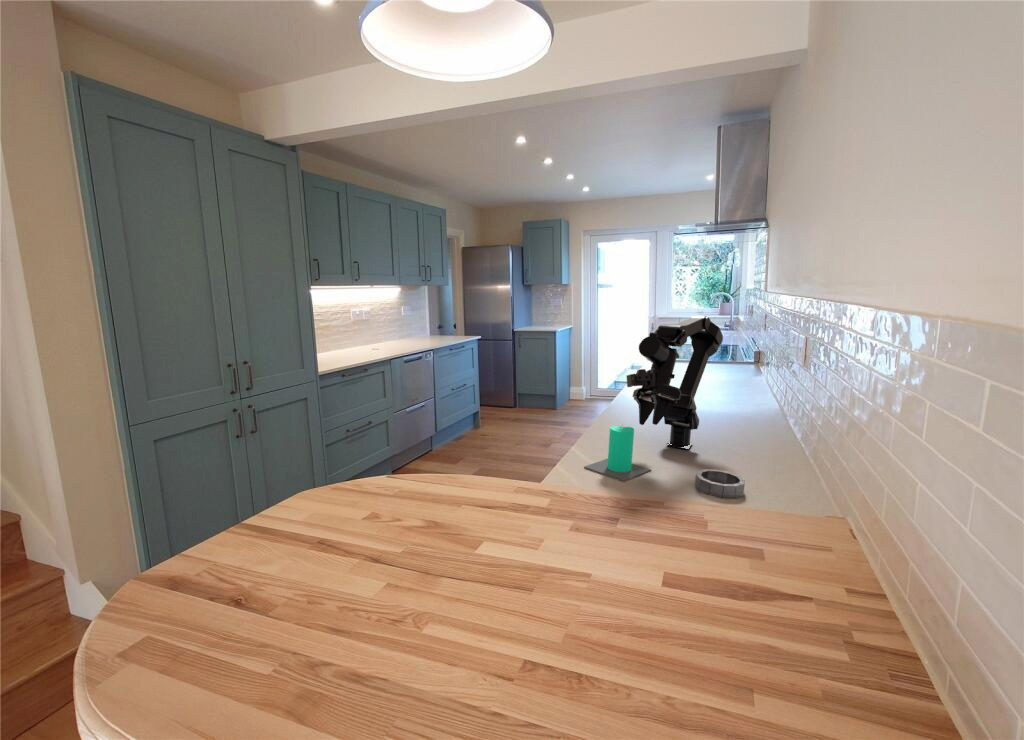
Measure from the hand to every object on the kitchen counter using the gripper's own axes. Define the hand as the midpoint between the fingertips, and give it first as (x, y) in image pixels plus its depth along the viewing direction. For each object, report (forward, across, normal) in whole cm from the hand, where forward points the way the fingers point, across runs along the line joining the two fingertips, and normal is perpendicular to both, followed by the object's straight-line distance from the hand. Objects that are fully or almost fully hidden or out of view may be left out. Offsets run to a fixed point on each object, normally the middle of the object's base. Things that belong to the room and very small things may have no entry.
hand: (647, 424), depth 128 cm
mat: (+14, +3, -6) cm, 15 cm away
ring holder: (+11, +16, +14) cm, 24 cm away
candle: (+13, +3, -5) cm, 15 cm away
